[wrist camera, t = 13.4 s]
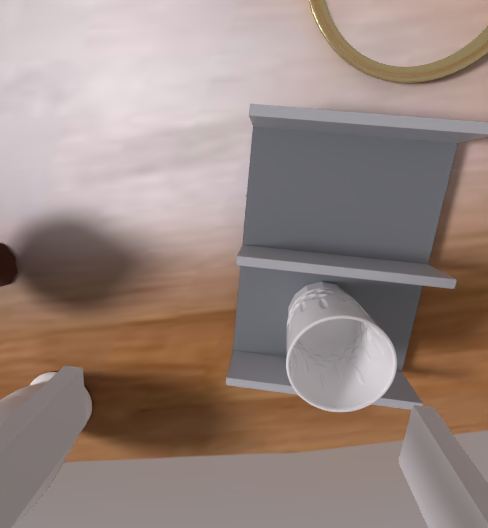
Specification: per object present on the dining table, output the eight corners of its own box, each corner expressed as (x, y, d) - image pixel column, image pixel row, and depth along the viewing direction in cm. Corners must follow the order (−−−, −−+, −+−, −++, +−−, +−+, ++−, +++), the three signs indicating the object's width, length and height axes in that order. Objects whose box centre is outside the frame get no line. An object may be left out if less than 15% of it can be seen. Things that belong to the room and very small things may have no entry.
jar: (42, 347, 38) (-98, 447, 24) (115, 392, 39) (23, 516, 25) (10, 407, 41) (-134, 530, 27) (79, 448, 42) (-23, 590, 27)
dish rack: (254, 119, 30) (250, 103, 24) (452, 135, 29) (499, 123, 23) (233, 351, 36) (225, 384, 30) (395, 372, 35) (421, 411, 29)
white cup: (275, 339, 34) (276, 400, 24) (290, 269, 32) (298, 306, 22) (349, 353, 34) (380, 422, 24) (369, 283, 32) (411, 327, 22)
